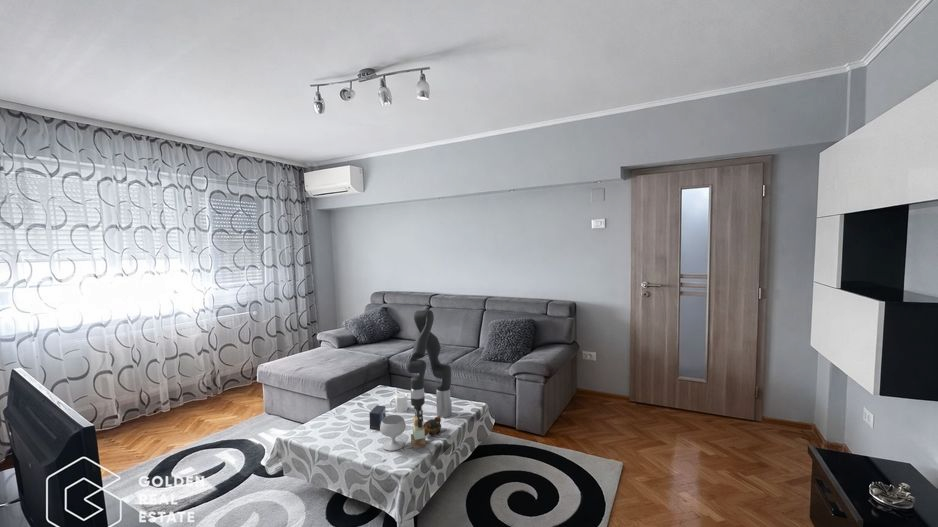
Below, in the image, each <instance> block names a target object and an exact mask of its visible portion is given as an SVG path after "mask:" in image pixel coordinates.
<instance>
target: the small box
mask: <svg viewBox="0 0 938 527" xmlns="http://www.w3.org/2000/svg"><path fill="white" fill-rule="evenodd" d="M385 417H387V414H386V406H385V405H375V406H374V407H373V409H371V411H369V430H380V425H381V422H382V420H383V418H385Z"/></svg>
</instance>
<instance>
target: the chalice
mask: <svg viewBox="0 0 938 527" xmlns="http://www.w3.org/2000/svg"><path fill="white" fill-rule="evenodd" d="M379 430H380V432H381V434H382V435H383V436H385V437H388V438H390V439H388V440H386V441H385V442H384V443H383V444H382V448H383V450H385V451H390V452H394V451H398V450H400V449H402V448H403V447H404V446H405V444H406V443H405V441H404V440H402V439H400V438H396V437H398V436H400V435H402V434H403V433H404V432H405V430H406V420H405V418H404V416H402V415H400V414H390V415H386V417H385V418H383V420H382V422H381V425H380V429H379Z"/></svg>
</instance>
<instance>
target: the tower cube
mask: <svg viewBox="0 0 938 527" xmlns="http://www.w3.org/2000/svg"><path fill="white" fill-rule="evenodd" d="M412 434H413V436H414V439H415V440H417V439H422V438H426V436H425V432H424V429H422V430H417V431H415V429H414V427H413V426H412Z"/></svg>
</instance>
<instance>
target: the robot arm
mask: <svg viewBox="0 0 938 527" xmlns="http://www.w3.org/2000/svg"><path fill="white" fill-rule="evenodd" d="M434 315H435V314H434V312H433V311H432V310H431V309H424V310H423V309H422V310H421V309H420V310H416V311H415V312H414V314H413V320H414V324H415V326H416V328H417V330H418V332H419V335H418V336H417V337H416V339H415V340H414V341H415V342H414V343H413V348H412V349H413V350H412V354H411V355H410V357H409V360H408V361H407V365H406V370H407V373H410V374H418V375H415V376H412V377H411V378H410V404H411V406H412V407H413V412H414V416H416V417H417V419H418V420H417V421H418V428H421V427H422V421H423V422H424V414H423V413H424V412H423V411H424V410H423V405H425V403H426V402H425V400H426V399H425V398H426V397H425V395H426V394H425V388H424V387H425V384H424V383H425V382H424V380H425V375H426V374H425V373H426V370H427V363H426V361H425V360H423V358H424V357H425V355H427V356H428V359H429V363H430V367H431V371H432V375H433V377H434V378H437V379H440V380H441V381H440V382H438V383H436V386H435V395H436V397H435V399H436V404H435V405H436V417H437V416H440V418H447V417H450V416H452V415H453V412H452V411H453V410H452V407H453V406H452V399H451V384H452V368H451V366H450V365H449V364H444V363H441V362H440V360H439V356H440V352H441V350H442V349H441V344H440V341H439V338H438V337H437V336H436V334H434V333H432V328H433V324H434V322H435V321H434V320H435V319H434V318H435V316H434ZM426 353H427V354H426ZM420 417H421V419H419V418H420Z"/></svg>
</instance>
